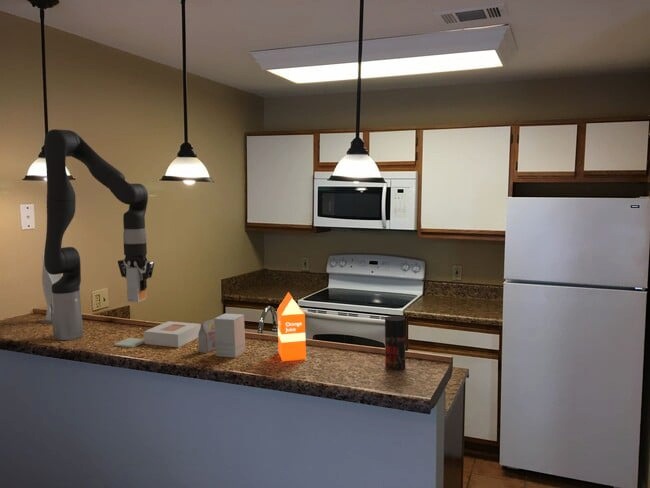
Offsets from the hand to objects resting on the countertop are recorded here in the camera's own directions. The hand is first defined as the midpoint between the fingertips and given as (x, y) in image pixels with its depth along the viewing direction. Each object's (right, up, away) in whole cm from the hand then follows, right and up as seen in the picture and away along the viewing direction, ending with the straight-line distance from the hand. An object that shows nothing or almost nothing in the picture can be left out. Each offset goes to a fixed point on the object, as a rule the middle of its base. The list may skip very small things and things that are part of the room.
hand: (136, 289), depth 189 cm
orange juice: (+55, -20, -16) cm, 61 cm away
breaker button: (+12, -18, +4) cm, 22 cm away
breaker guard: (+12, -18, +4) cm, 22 cm away
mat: (-2, -19, +1) cm, 19 cm away
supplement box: (+35, -20, -13) cm, 43 cm away
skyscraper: (-46, -16, +35) cm, 60 cm away
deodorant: (+87, -21, -29) cm, 94 cm away
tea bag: (+27, -20, -8) cm, 35 cm away
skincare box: (0, -4, +1) cm, 4 cm away
